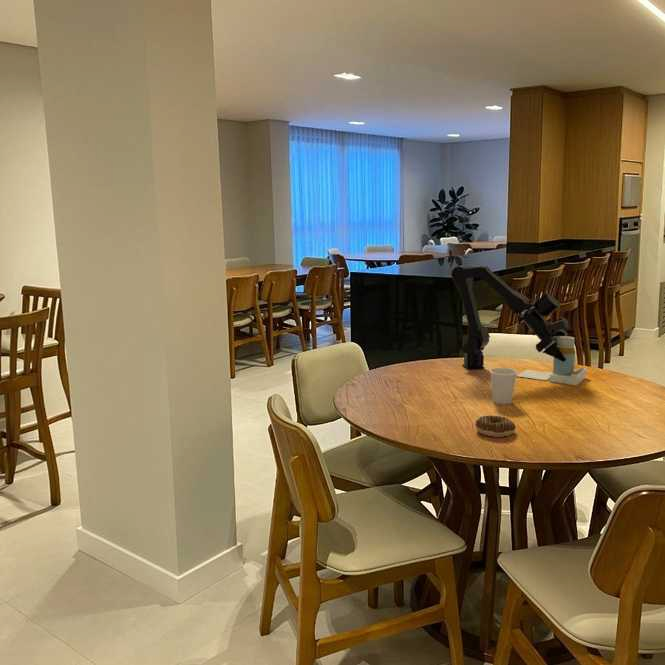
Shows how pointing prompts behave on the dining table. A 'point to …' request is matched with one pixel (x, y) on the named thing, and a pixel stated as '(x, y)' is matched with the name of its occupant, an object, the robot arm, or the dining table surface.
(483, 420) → the donut
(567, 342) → the bottle
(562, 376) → the dock
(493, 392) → the dixie cup
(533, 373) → the mat
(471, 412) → the dining table surface
